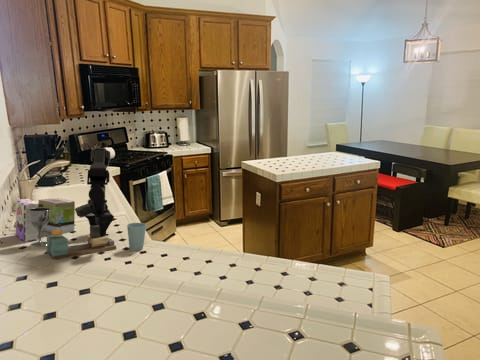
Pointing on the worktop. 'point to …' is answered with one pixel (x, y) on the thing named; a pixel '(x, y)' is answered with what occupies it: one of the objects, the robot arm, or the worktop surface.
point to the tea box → (59, 214)
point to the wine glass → (39, 221)
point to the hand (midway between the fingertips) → (97, 234)
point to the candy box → (25, 220)
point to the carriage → (96, 237)
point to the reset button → (56, 232)
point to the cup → (136, 235)
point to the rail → (72, 247)
